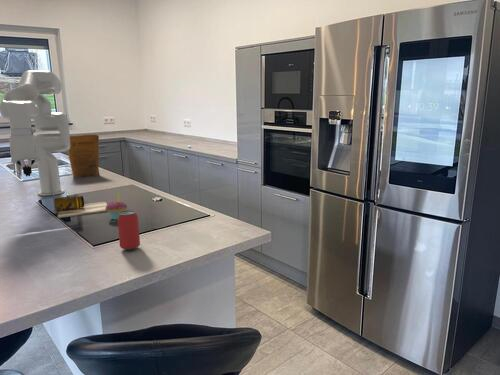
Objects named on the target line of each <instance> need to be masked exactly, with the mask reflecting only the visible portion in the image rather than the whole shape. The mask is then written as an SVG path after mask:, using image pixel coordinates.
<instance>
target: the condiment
mask: <svg viewBox="0 0 500 375" xmlns="http://www.w3.org/2000/svg"><path fill="white" fill-rule="evenodd" d="M52 198H53V206H54V212H55V213H57V212H58V211H64V210H71V209H77V208H80V207H84V204H85V200H84V196H83V195H78V196H77V195H70V196H69V195H68V196H60V197H59V196H58V197H55V195H54V194H53V195H52Z"/></svg>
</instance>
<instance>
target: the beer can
mask: <svg viewBox="0 0 500 375" xmlns="http://www.w3.org/2000/svg"><path fill="white" fill-rule="evenodd" d="M117 230H118V239H119V247H120V248H121V249H122V250H134V249H136V248H139V246H140V245H141V240H140V226H139V216H138V214H137V211H136V210H134V209H133V210H132V209H130V210H129V209H128V210H127V209H126V210H125V211H122V212H120V213H119V216H118V219H117Z"/></svg>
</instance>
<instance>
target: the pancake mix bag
mask: <svg viewBox="0 0 500 375" xmlns="http://www.w3.org/2000/svg"><path fill="white" fill-rule="evenodd" d="M99 145H100V136H99V134H98V135H97V134H85V135H73V136H72V135H70V149H69V150H68V151H67V155H68V159H69V163H70V169H71V172H72V177H73V178H76V177H78V178H91V177H92V176H93V177H97V176H98V175H99V176H100V175H101V174H100V170H99V166H100V165H99V164H100V163H99V156H100V146H99ZM93 177H92V178H93Z"/></svg>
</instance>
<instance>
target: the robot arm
mask: <svg viewBox="0 0 500 375" xmlns="http://www.w3.org/2000/svg"><path fill="white" fill-rule="evenodd" d="M61 91H62V83H61V80H60V79H59V78H58V76H57V75H56V73H54V72H53V71H51V70H41V69H40V70H38V69H37V70H36V69H35V70H33V69H32V70H31V69H30V70H25V71H24V72H23V73H22V74H21V77H20V81H19V83H18V86H17V87H15V88H12V89H10V90H8V91H7V92H5V93H4V94H3V96H2V97H1V100H0V115H1V117H2V118H4V119H7V120H9V121H8V122H9V127H10V134H11V135H10V136H9V150H10V151H9V152H10V158H11V160H10V163H11V164H18V165H19V166H21V168H22V170H23V171H22V172H23V175H25V177H30V176H31V175H32V173H33V172H32V165H34V164H35V163H36V164H37V169H38V170H37V172H38V176H39V177H38V179H39V187H40V190H39V191H38V192H37V195H39V196H41V197H42V196H45V197H46V196H53V194H54V196H56V195H61V194H63V193H65V189H63V188H62V187H61V179H60V171H59V162H58V159H57V157H56V156H55V155H54V154H53V153H60V152H62V153H63V152H68V150H69V149H70V136H71V134H70V125H69V119H68V116H67V115H66V113H64V112H60V111H59V112H52V104H51V101H50V100H49V99H48V98H47V97H46V96H45V95H58V94H60V93H61ZM31 120H33V123H34V128H35V129H34V128H32V123H31V122H32V121H31ZM37 130H38V131H39V132H40V131H41V132H59V133H39V134H36V135H35V134H34V133H36V132H37ZM25 161H27V165H26V164H25Z"/></svg>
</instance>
